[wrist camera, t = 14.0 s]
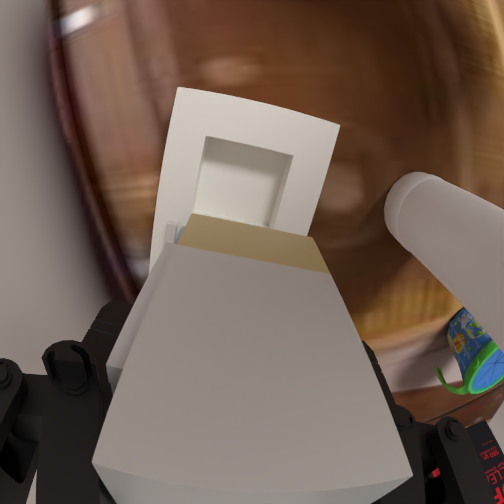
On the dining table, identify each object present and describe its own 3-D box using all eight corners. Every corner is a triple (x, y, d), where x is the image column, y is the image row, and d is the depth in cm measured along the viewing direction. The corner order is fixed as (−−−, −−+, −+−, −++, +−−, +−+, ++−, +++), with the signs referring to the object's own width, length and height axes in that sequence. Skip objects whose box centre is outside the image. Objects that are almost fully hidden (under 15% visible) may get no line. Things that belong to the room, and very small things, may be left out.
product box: (485, 419, 54) (524, 501, 25) (460, 446, 60) (491, 522, 31) (415, 444, 52) (452, 549, 24) (391, 468, 58) (418, 561, 30)
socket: (185, 90, 23) (176, 85, 20) (329, 124, 25) (343, 125, 21) (153, 287, 31) (144, 307, 28) (272, 310, 33) (275, 332, 29)
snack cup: (431, 368, 39) (457, 414, 30) (413, 336, 36) (446, 389, 27) (502, 309, 36) (536, 347, 26) (494, 267, 32) (538, 306, 23)
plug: (191, 213, 12) (91, 462, 3) (312, 237, 12) (413, 475, 3) (178, 312, 14) (130, 522, 5) (280, 329, 15) (307, 535, 6)
